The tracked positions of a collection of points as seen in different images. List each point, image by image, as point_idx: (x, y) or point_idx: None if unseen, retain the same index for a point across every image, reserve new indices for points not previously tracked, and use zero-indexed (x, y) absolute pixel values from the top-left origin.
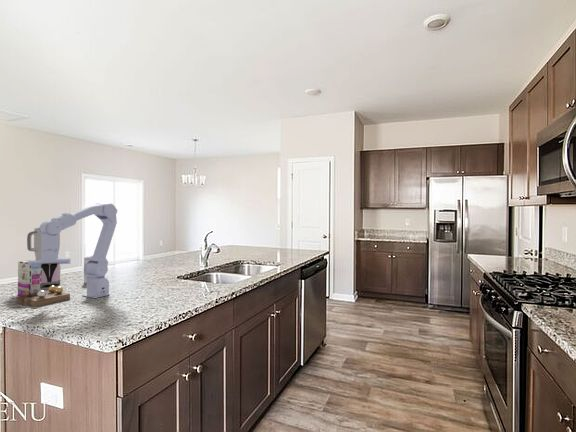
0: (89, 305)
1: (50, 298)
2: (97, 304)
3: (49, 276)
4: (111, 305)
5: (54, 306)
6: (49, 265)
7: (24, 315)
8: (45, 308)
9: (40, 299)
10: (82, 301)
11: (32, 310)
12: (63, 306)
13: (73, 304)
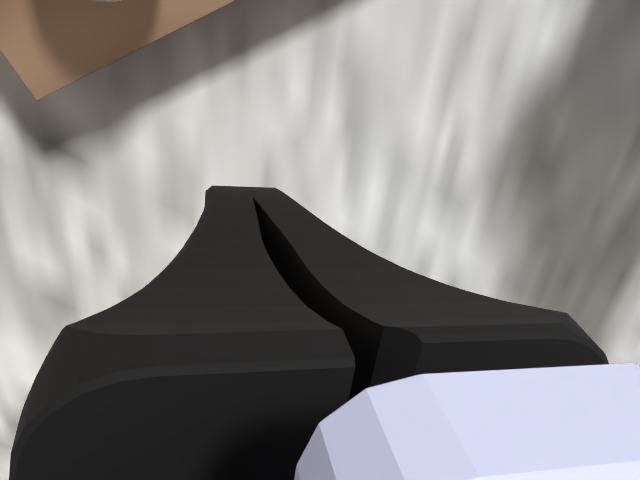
0: (511, 291)
1: (224, 3)
2: (567, 289)
3: (256, 222)
4: (619, 360)
5: (254, 175)
6: (331, 349)
7: (8, 379)
8: (169, 215)
9: (97, 51)
10: (522, 100)
11: (48, 235)
12: (330, 220)
13: (421, 187)
